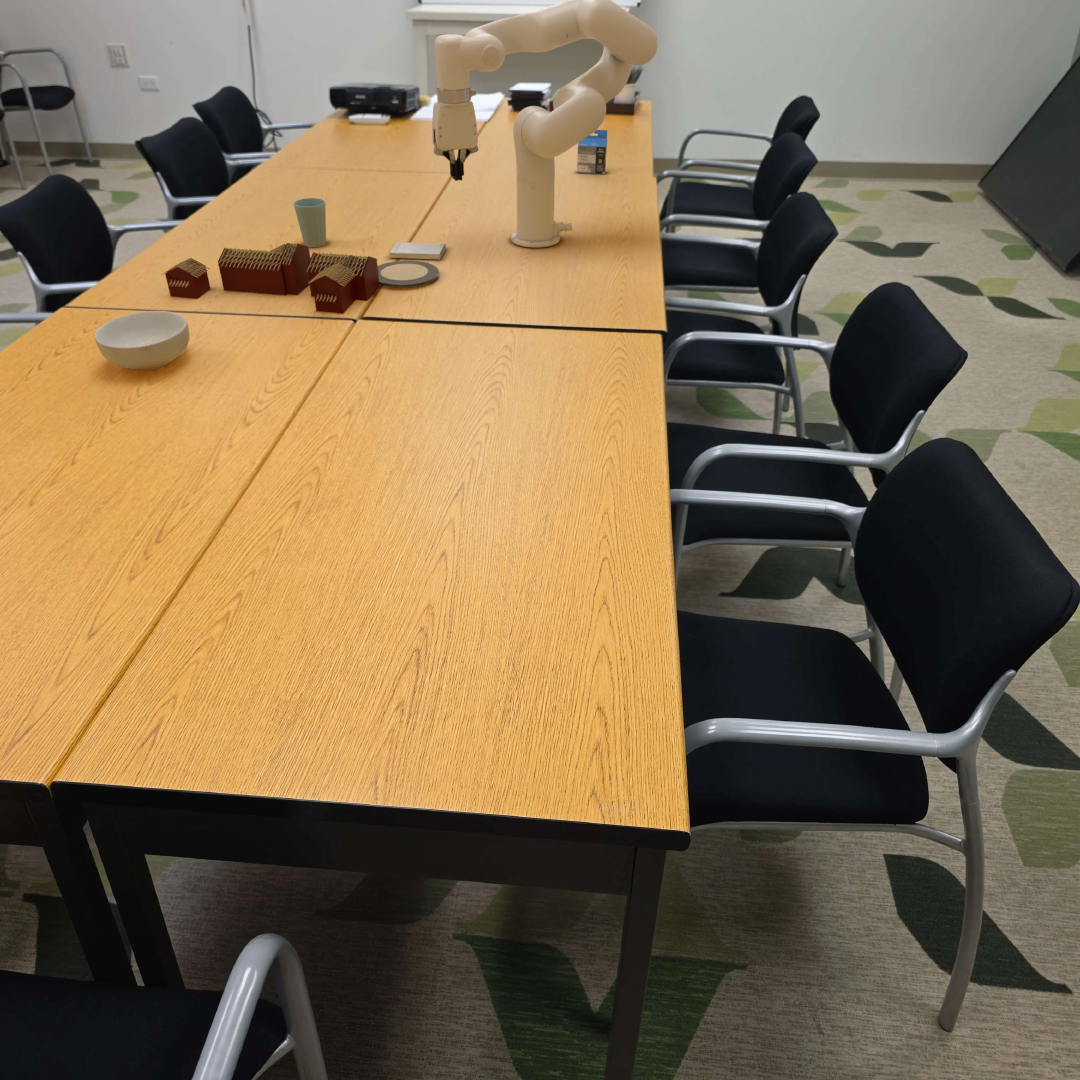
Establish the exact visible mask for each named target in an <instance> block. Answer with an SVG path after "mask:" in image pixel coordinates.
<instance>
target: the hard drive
mask: <svg viewBox="0 0 1080 1080" xmlns="http://www.w3.org/2000/svg"><path fill="white" fill-rule="evenodd" d="M446 247H447V245H446V243H436V242H435V243H434V242H433V243H432V242H405V241H397V242H396V243H395V244H394V246H393V247H392V249H391V250H390V252H389V258H391V259H411V260H413V259H414V260H415V259H416V260H418V259H419V260H442V258H443V256H444V254H445V252H446V250H447V248H446Z"/></svg>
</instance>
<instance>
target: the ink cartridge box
mask: <svg viewBox="0 0 1080 1080" xmlns="http://www.w3.org/2000/svg"><path fill="white" fill-rule="evenodd" d="M593 134H594V135H592V134H591V135H589V136H588V137H586V138H585V139H583V140H582V141H580V142H579V143H577V157H576V158H577V162H576V173H577V174H591V175H592V174H593V175H605V174H606V170H607V152H608V151H607V150H608V149H607V148H608V130H607V129H597V130H596V131H595V132H593Z"/></svg>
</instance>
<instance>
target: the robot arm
mask: <svg viewBox="0 0 1080 1080" xmlns="http://www.w3.org/2000/svg"><path fill="white" fill-rule="evenodd" d="M586 38H590V39H593V40H595V41H596V42H598V43H599V44H601V45H602V46H603V47H604V48H603V52H602V54H601V56H600V58H599V60H598V61H597V62H596V64H594V65H593V66H591V67H590V68H589V69H588V70H586V71H585V72H583V73H582V74H580V75H578V76H577V77H576V78H575V79H573V80H571V81H570V82H568V83H567V84H565V85H564V86H562V87H561V88H560V89H559V90H558V91H557V92H556V93H555V95H554V97H553V101H552V107H553V110H552V111H549V110H547V109H545V108H544V107H541V106H537V105H530V106H527V107H524V108H522V109H521V110H520V111H519V112H518V113H517V115H516V117H515V118H514V121H513V130H512V132H513V143H514V149H515V150H514V151H515V152H514V153H515V165H516V166H515V169H516V171H515V172H516V230H515V231H514V232H513V233H512V234H511V235H510V240H511V242H512V243H513V244H514V245H517V246H519V247H523V248H546V247H551V246H554V245H557V244H558V243H559V242H560V241H561V236H560V235H561V232H570V231H572V230H573V223H572V222H565V223H564V221H558V222H557V221H556V220H555V186H556V185H555V180H556V178H555V177H556V163H555V161H556V160H555V158H557V157H559V156H560V155H562V154H564V153H565V152H567V151H568V150H570V149H571V148H573V147H574V146H576V145H578V143H579V142H580V141H582V140H583V139H585V138H586V137H588V136H589V135H590V136H591V135H592V134H594V132H595V131H596V130H599V128H600V127H601V126H602V124H603V122H604V120H605V118H606V114H607V104H608V103H609V102H610V101H611V100H613V99H614V98H615V97H617V96H618V95H619V94H620V93H621V92H622V91H623V89H624V88H625V87H626V86H627V85H626V84H627V83H628V81H629V78H630V76H631V71H632V68H633V66H644V65H646V64H648V63H650V61H652V60H653V59H654V57H655V56H656V53H657V51H658V44H659V41H658V36H657V34H656V32H655V30H654V29H653V27H651V26H650V25H649V24H647V23H645V22H644V21H642V20H641V19H640V18H639V17H637V16H635V15H634V14H633V13H630V12H628V11H627V10H626V9H624V8H623V7H622V6H620V5H619V4H617V3H616V2H614V1H612V0H564V1H563V0H562V1H561V2H558V3H555V4H552V5H548V6H546V7H543V8H540V9H537V10H535V11H530V12H529V11H528V12H525V13H522V14H518V15H513V16H509V17H505V18H501V19H498V20H494V21H492V22H488V23H485V24H483V25H480V26H477V27H474V28H472V29H470V30H468V31H467V32H466V33H465V34H464V35H462V34H455V33H448V34H447V33H445V34H441V35H437V36H436V37H435V39H434V62H435V63H434V64H435V81H436V96H437V97H436V100H437V101H434V102H433V107H432V127H431V128H432V130H431V134H432V144H433V146H434V147H433V153H434V155H435V156H439V157H445V159H446V160H447V161H448V162H449V174H450V177H451V178H452V179H453V180H454V181H456V182H458V181H463V176H465V162H466V160H467V158H468V157H470V155H473V154H474V153H478V152H479V146H478V143H479V136H478V125H477V124H478V123H477V116H476V112H475V111H476V110H475V106H474V102H473V101H472V98H473V96H474V97H475V96H476V95H477V91H476V88H475V89H474V88H471V87H470V83H471V82H470V71H471V72H482V73H491V72H494V71H497V70H499V69H500V68H501V67H502V66H503V64H504V62H505V60H506V56H507V55H511V54H517V53H537V54H538V53H546V52H550V51H553V50H555V49H559V48H561V47H564V46H567V45H569V44H572V43H574V42H575V43H576V42H578V41H581V40H584V39H586ZM456 150H457V157H456V156H455V151H456Z"/></svg>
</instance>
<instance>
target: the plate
mask: <svg viewBox="0 0 1080 1080" xmlns="http://www.w3.org/2000/svg"><path fill="white" fill-rule="evenodd" d="M377 266H378V276H379V285H380V286H385V287H390V288H391V287H392V288H413V287H418V286H423V285H426V284H429V283H432V282H434V281H435V280H436V279H437V278H439V275H440V271H439V268H438V267H437V266H435V265H434V264H432V263H429V262H425V261H420V260H396V261H389V262H386V263H382V264H378V265H377Z"/></svg>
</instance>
